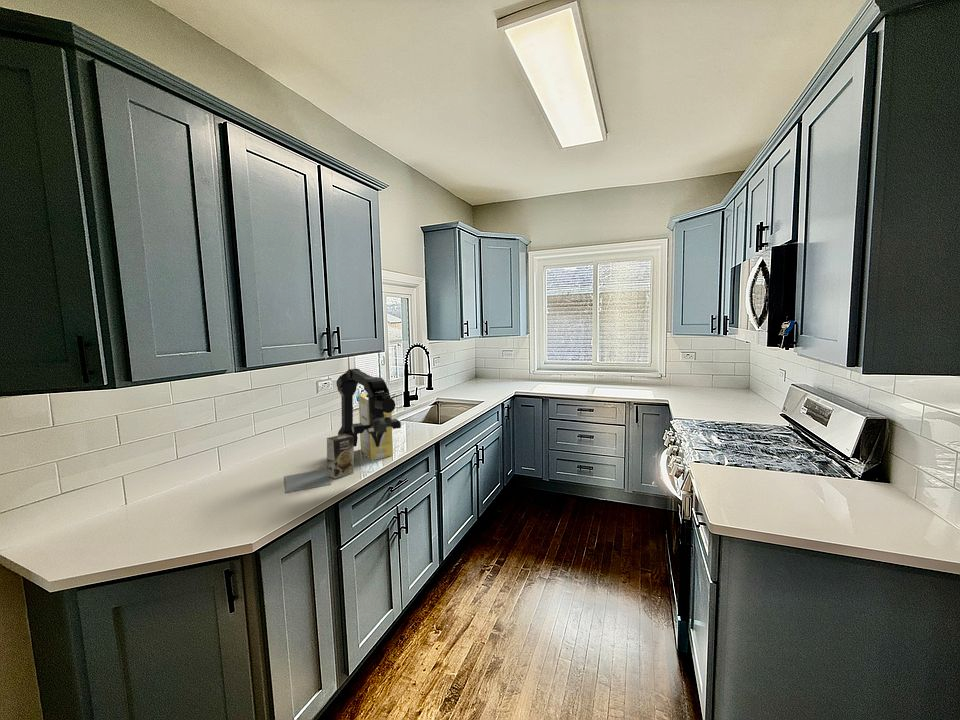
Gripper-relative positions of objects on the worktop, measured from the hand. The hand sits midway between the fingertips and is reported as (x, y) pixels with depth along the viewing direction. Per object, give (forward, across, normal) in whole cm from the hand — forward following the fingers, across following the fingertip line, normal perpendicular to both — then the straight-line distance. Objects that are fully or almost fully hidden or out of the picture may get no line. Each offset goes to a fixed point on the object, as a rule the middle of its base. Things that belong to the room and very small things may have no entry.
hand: (377, 446), depth 163 cm
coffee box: (+13, -14, +11) cm, 22 cm away
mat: (+13, -26, +11) cm, 31 cm away
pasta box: (+13, +6, +33) cm, 36 cm away
